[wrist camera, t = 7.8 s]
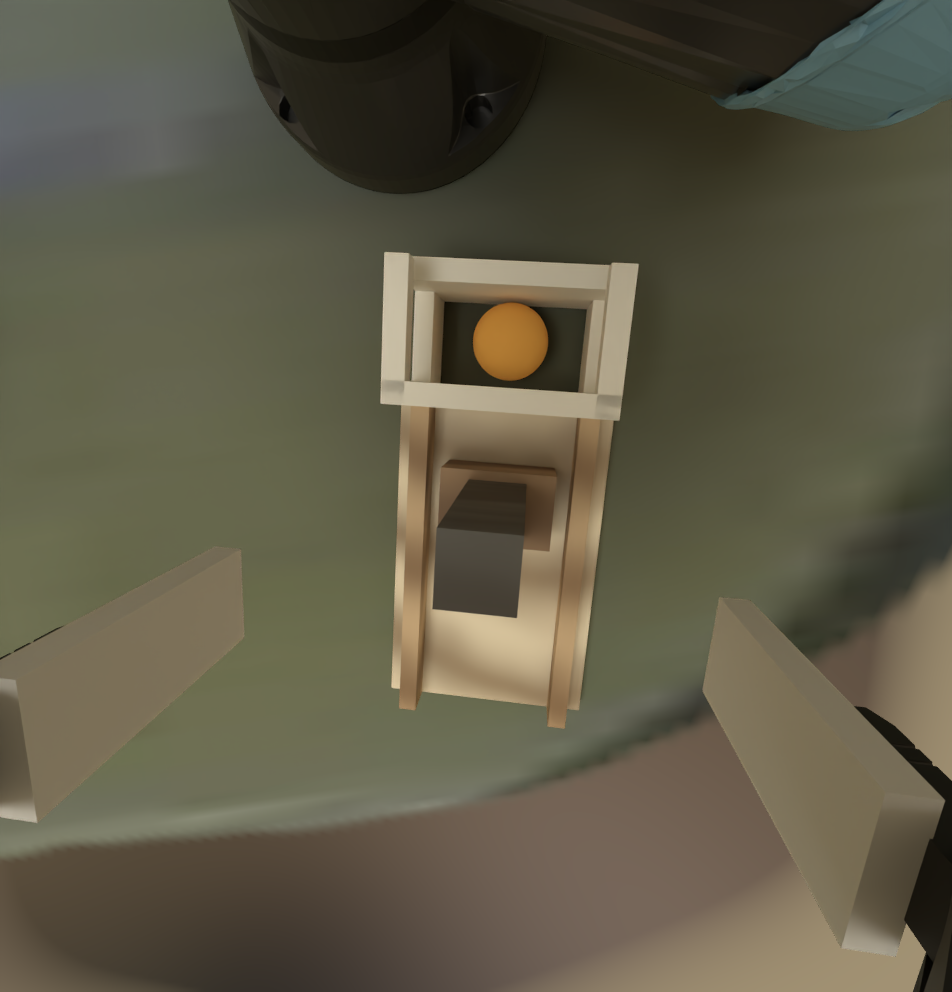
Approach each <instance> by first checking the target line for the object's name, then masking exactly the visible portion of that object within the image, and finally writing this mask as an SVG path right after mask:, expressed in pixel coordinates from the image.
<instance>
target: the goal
mask: <svg viewBox="0 0 952 992" xmlns="http://www.w3.org/2000/svg"><path fill="white" fill-rule="evenodd" d="M638 266H639V264H632V263H612V264H611V265H593V264H572V263H550V262H529V261H507V260H486V259H464V258H443V257H421V256H411V255H410V254H409V253H394V252H384V288H383V326H382V364H381V403H380V404H393V405H407V406H421V407H435V408H449V409H463V410H477V411H490V412H504V413H518V414H532V415H546V416H560V417H574V418H588V419H602V420H616V421H619V420H620V412H621V404H622V396H623V388H624V379H625V371H626V363H627V355H628V347H629V339H630V331H631V323H632V314H633V306H634V298H635V290H636V282H637V274H638ZM413 289H414V290H415V308H414V334H413V360H412V381H410V362H411V335H412V309H413ZM445 302H461V303H479V304H498V305H499V304H503V303H509V302H514V303H520V304H523V305H526V306H535V307H554V308H572V309H587V312H586V321H585V331H584V340H583V350H582V359H581V369H580V378H579V388H578V393H575V392H560V391H545V390H530V389H516V388H501V387H486V386H471V385H457V384H442V383H441V363H442V343H443V323H444V303H445Z"/></svg>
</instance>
